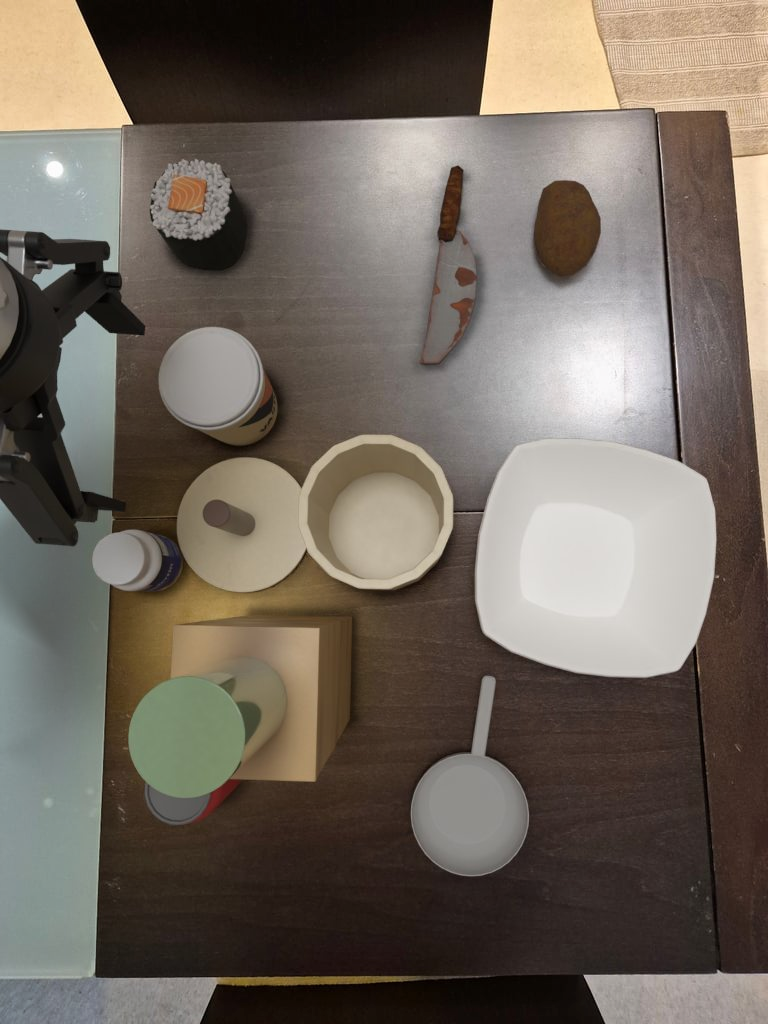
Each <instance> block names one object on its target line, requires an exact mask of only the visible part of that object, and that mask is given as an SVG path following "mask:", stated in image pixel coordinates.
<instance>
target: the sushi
mask: <svg viewBox="0 0 768 1024" xmlns="http://www.w3.org/2000/svg"><path fill="white" fill-rule="evenodd" d="M231 182H232V181H231V178H230V177H228V176H227V174H226V172H225V171H224V170H222V167H221V164H218V163H217V162H215V163H211V162H210V161H209V162H205V161H204V160H203V159H201V160H200V161H199V159H197V158H194V160H191V161H189V160H186V159H183V158H181V161H179V162H177V163H170V162H168V163H167V168H166V169H165V170H164V172H163V173H162V174H161V175H160V177H159V178H158V180H157V181H154V185H153V189H152V191H151V194H150V195H149V197H150V204H149V215H150V216H149V217H150V220H151V223H152V226H153V227H155V229H156V230H157V232H158V233H159V235H160V236H161V238H162V239H163V240H164V242H165V243H166V244H167V246H168V247H169V249H170V250H171V251H172V253H173V254H174V255H175V257H176V259H178V260H179V261H180V262H181V263H182V264H184V265H186V266H188V267H190V268H195V269H200V270H209V271H211V270H213V271H222V270H225V269H227V268H230V267H232V265H234V264H235V263H236V262H238V260H239V259H240V258H241V255H242V254H243V251H244V248H245V244H246V238H247V231H248V220H247V216H246V213H245V212H244V211H245V210H244V209H243V207H242V204H241V203H240V201H239V199H238V197H237V195H236V193H235V190H234V187H233V185H232V183H231Z"/></svg>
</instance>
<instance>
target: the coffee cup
mask: <svg viewBox="0 0 768 1024" xmlns="http://www.w3.org/2000/svg"><path fill="white" fill-rule="evenodd" d="M158 389H159V395H160V397H161V401H162V402H163V404H164V406H165V407H166V409H167V410H168V412H169V413H170V414H171V415H172V416H173V417H174V419H176V420H177V421H179V422H180V423H182V424H183V425H186V426H188V427H190V428H192V429H194V430H198V431H199V432H201V433H204V434H205V435H207V436H209V437H211V438H213V439H216V440H217V441H220V442H222V443H225V444H228V445H231V446H238V447H239V446H247V445H251V444H254V443H257V442H258V441H260V440H262V439H263V438H265V437H266V436H267V435H268V433H269V432H270V431H271V430H272V428H273V427H274V424H275V423H276V419H277V415H278V401H277V397H276V393H275V391H274V388H273V386H272V384H271V381H270V380H269V377H268V375H267V373H266V370H265V368H264V366H263V362H262V360H261V358H260V355H259V353H258V352H257V350H256V348H255V347H254V346H253V344H252V343H251V342H250V341H249V340H248V339H247V338H246V337H244V336H243V335H241V334H240V333H238V332H236V331H234V330H232V329H229V328H225V327H222V326H221V327H220V326H205V327H200V328H196V329H193V330H190V331H188V332H186V333H185V334H183V335H181V336H179V337H178V338H177V339H176V340H175V341H174V342H173V343H172V344H171V345H170V347H169V348H168V349H167V351H166V352H165V354H164V356H163V358H162V360H161V363H160V366H159V371H158Z"/></svg>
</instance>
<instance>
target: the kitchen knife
mask: <svg viewBox="0 0 768 1024" xmlns="http://www.w3.org/2000/svg"><path fill="white" fill-rule="evenodd" d="M464 172H465V171H464V168H462V167H461V166H459V165H458V164H457V165H455V166H452V167H450V170H449V176H448V179H447V182H446V185H445V189H444V194H443V199H442V204H441V208H440V214H439V226H438V229H437V233H436V234H437V240H438V241H439V247H438V254H437V261H436V267H435V275H434V280H433V288H432V294H431V301H430V307H429V313H428V314H429V315H428V321H427V328H426V333H425V340H424V345H423V348H422V353H421V358H420V361H419V362H420V364H421V365H422V364H428V365H429V364H440V362H441V361H443V359H445V357H446V356H447V355H448V354H449V353H450V352H451V351H452V350H453V349H454V347H455V346H456V345H457V344H458V342H459V341H460V340H461V339H462V337H463V335H464V334H465V331H466V329H467V327H468V325H469V323H470V321H471V318H472V314H473V310H474V307H475V306H474V305H475V302H476V298H477V283H478V275H477V267H476V258H475V255H474V253H473V249H472V247H471V245H470V242H469V240H468V239H467V238H466V237H465V235H464V234H463V233H462V231H461V230H459V229H457V224H458V220H459V217H460V212H461V206H462V195H463V188H464V185H463V183H464Z"/></svg>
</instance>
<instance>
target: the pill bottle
mask: <svg viewBox="0 0 768 1024" xmlns="http://www.w3.org/2000/svg"><path fill="white" fill-rule="evenodd" d="M91 561H92V567H93V570H94V573H95V574H96V575H97V577H98V578H99V579H100V580H102V581H103V582H104V583H106V584H109V585H111V586H113V587H114V588H116V589H118V590H121V591H127V592H160V591H164V590H167V589H168V588H170V587H171V586H172V585H174V584H175V583H176V582H177V580H179V577H181V574H182V571H183V568H184V567H183V566H184V557H183V554H182V551H181V549H180V546H179V545H177V543H175V542H174V540H172V539H171V538H169V537H167V536H164V535H162V534H158V533H152V532H150V531H149V532H148V531H144V530H140V529H125V530H121V531H120V532H119V531H118V532H112V533H110V534H108V535H105V536H104V537H102V538H101V539H100V540H99V541H98V543H97V544H96V545H95V547H94V549H93V553H92V559H91Z"/></svg>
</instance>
